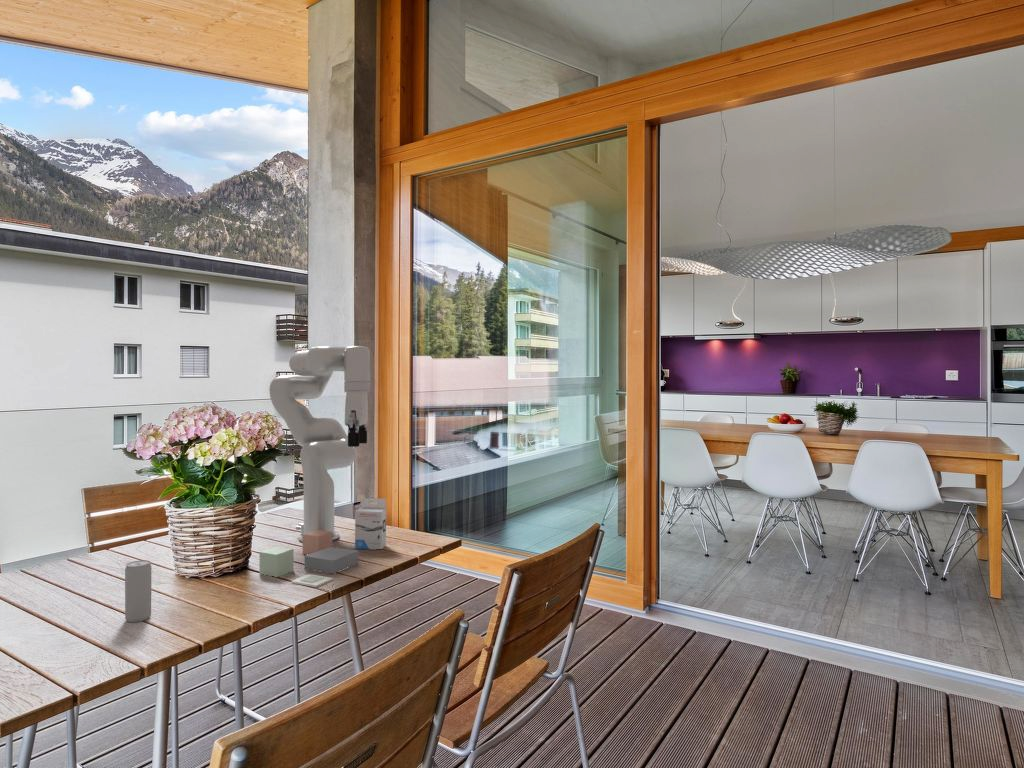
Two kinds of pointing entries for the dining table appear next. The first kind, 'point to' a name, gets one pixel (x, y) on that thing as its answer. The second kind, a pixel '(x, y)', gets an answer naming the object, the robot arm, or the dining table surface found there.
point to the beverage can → (138, 591)
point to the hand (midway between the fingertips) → (357, 444)
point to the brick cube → (316, 541)
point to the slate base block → (331, 559)
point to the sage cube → (276, 561)
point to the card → (311, 580)
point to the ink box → (370, 524)
